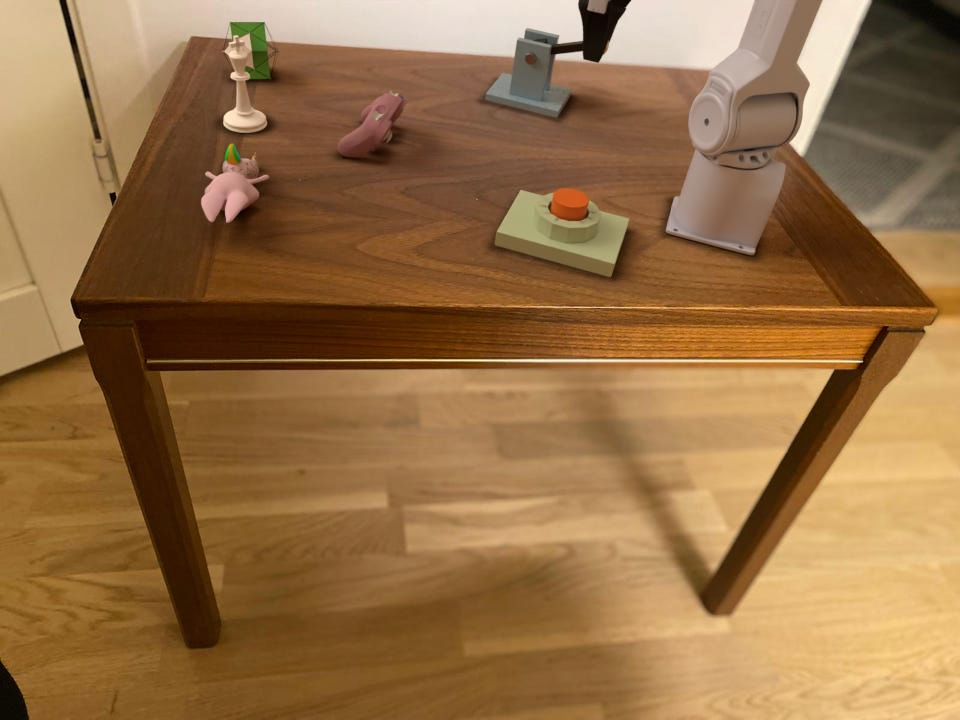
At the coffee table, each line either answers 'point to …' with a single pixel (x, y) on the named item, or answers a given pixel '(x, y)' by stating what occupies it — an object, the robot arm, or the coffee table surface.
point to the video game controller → (373, 125)
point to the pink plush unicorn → (232, 186)
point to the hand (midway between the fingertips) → (594, 55)
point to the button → (569, 204)
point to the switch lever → (566, 47)
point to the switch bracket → (531, 77)
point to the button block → (562, 234)
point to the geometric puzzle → (253, 48)
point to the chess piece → (242, 96)
